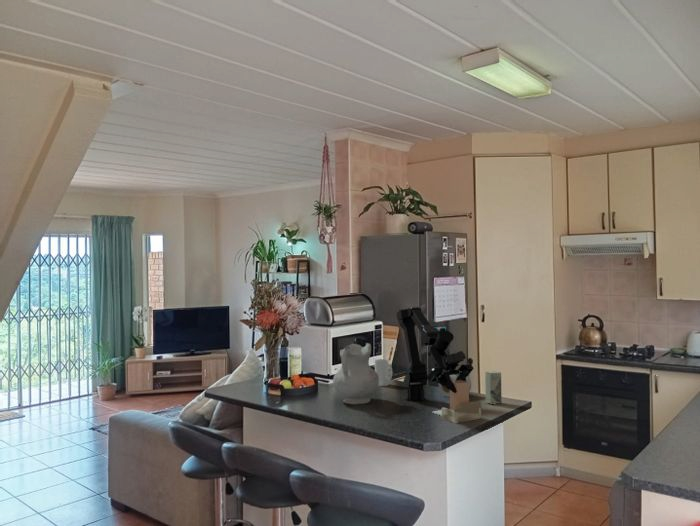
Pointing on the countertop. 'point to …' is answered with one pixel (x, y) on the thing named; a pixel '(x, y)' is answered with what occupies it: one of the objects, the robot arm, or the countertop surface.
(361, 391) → the ceramic pitcher
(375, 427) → the countertop surface
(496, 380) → the box
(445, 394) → the toilet paper
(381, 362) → the mug
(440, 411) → the mat
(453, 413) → the cubby
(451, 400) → the brown rectangular block
